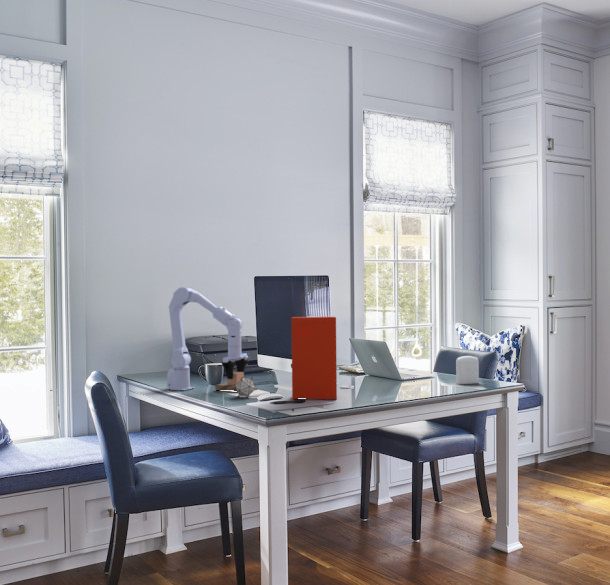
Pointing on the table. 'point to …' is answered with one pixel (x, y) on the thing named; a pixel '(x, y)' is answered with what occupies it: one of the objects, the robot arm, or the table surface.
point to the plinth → (226, 387)
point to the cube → (235, 378)
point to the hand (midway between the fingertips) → (235, 377)
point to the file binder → (314, 358)
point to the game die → (245, 387)
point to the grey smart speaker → (467, 370)
